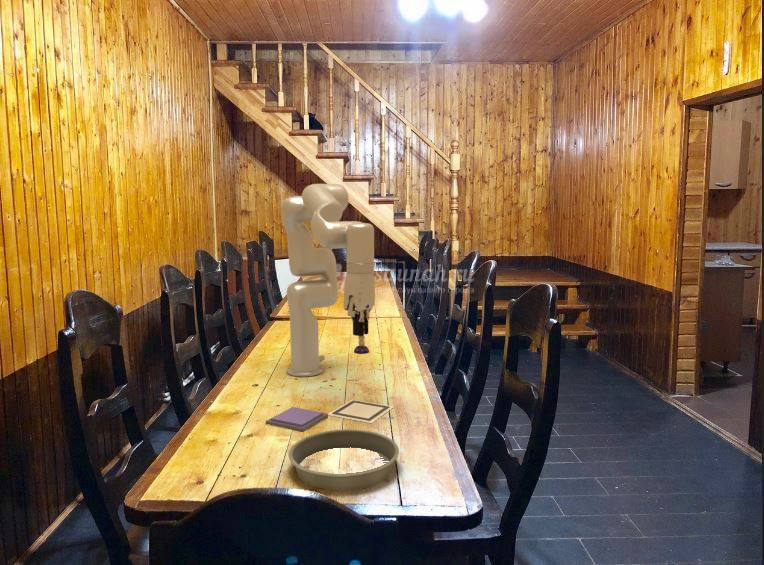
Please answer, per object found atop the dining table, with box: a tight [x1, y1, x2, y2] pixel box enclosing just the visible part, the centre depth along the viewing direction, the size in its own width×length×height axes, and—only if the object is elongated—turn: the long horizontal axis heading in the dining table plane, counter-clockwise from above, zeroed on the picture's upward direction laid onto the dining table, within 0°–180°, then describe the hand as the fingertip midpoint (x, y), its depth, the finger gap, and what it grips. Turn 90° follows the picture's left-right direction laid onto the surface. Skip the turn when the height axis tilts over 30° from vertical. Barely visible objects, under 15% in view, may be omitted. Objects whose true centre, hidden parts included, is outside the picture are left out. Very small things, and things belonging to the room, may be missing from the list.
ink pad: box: [265, 406, 329, 433], centre depth 165 cm, size 12×12×1 cm
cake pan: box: [288, 428, 400, 491], centre depth 136 cm, size 25×25×4 cm
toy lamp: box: [353, 305, 370, 355], centre depth 168 cm, size 5×5×17 cm
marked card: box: [327, 399, 395, 424], centre depth 172 cm, size 14×14×1 cm
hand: (360, 334), depth 169 cm, fingers closed on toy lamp
